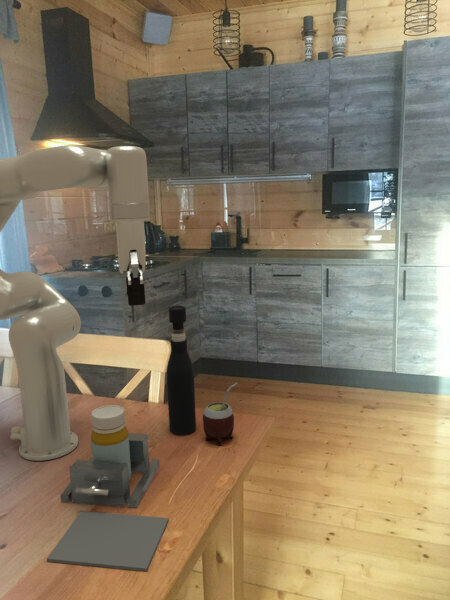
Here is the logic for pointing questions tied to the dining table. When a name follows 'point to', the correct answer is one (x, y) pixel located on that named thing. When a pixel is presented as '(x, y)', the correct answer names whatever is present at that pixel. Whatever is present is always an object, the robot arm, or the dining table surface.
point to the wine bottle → (180, 378)
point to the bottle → (110, 435)
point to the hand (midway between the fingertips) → (135, 300)
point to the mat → (110, 541)
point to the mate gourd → (219, 420)
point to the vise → (112, 478)
